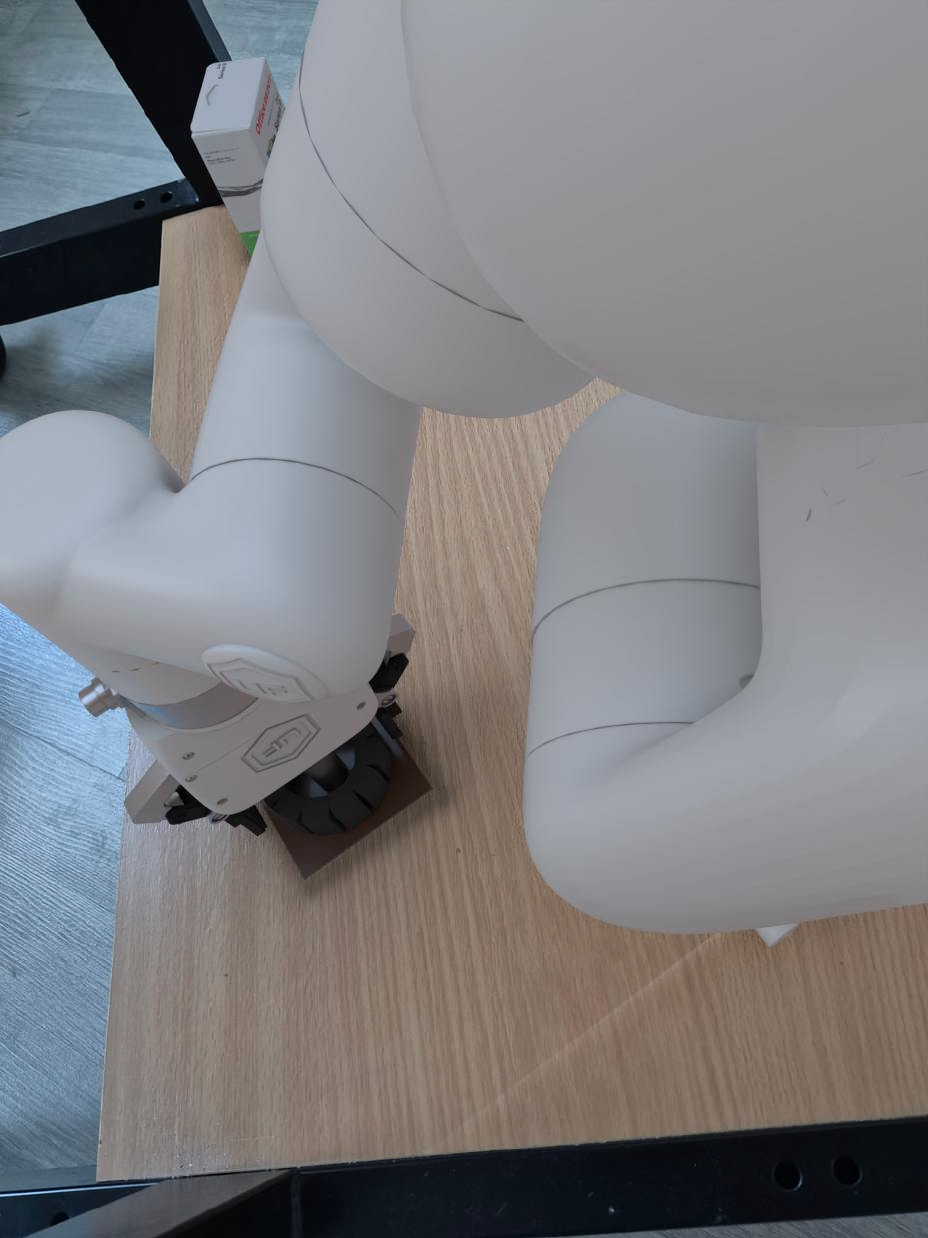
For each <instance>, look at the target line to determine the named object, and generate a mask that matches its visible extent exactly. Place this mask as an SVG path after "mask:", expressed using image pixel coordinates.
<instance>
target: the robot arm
mask: <svg viewBox="0 0 928 1238" xmlns="http://www.w3.org/2000/svg"><path fill="white" fill-rule="evenodd" d="M300 57H301V58H300V60H299V63H298V67H297V70H296V74H295V76H294V80H293V83H292V86H291V89H290V91H289V92H290V93H289V96H288V99H287V102H286V105H285V111H284V114H283V117H282V120H281V123H280V126H279V129H278V132H277V135H276V138H275V142H274V145H273V148H272V151H271V155H270V158H269V161H268V164H267V168H266V171H265V175H264V179H263V184H262V190H261V196H260V218H261V230H260V233H259V236H258V239H257V243H256V246H255V249H254V252H253V255H252V257H251V258H250V262H249V265H248V268H247V271H246V273H245V277H244V279H243V282H242V285H241V289H240V291H239V295H238V298H237V301H236V304H235V306H234V310H233V314H232V317H231V319H230V322H229V326H228V329H227V332H226V334H225V335H226V336H225V339H224V341H223V345H222V347H221V348H222V349H221V352H220V355H219V358H218V362H217V368H216V369H215V373H214V377H213V380H212V384H211V388H210V392H209V395H208V398H207V402H206V405H205V409H204V412H203V417H202V420H201V425H200V429H199V432H198V436H197V439H196V444H195V448H194V452H193V455H192V460H191V463H190V467H189V471H188V475H187V480H186V483H185V481H184V480H183V479H182V478H181V476H180V475H179V474H178V472H177V471H176V470H175V469H174V468H173V465H172V464H170V462H169V461H168V460H167V458H166V457H165V456H164V454H163V453H162V452H161V451H160V449H159V448H158V447H157V446H156V444H155V443H154V442H153V441H152V440H151V439H150V438H149V437H148V436H147V435H145V434H144V433H143V432H142V431H140V430H139V429H138V428H137V427H135V426H134V425H132V424H131V423H129V422H127V421H125V420H124V419H121V418H119V417H117V416H115V415H113V414H108V413H105V412H101V411H97V410H86V409H85V410H84V409H68V410H59V411H54V412H52V413H46V414H43V415H40V416H37V417H35V418H33V419H30V420H27V421H26V422H24V423H22V424H20V425H19V426H17V427H14V428H13V429H11V430H10V431H9V432H7V433H5V434H4V435H3V436H1V438H0V604H1V605H3V607H5V608H7V609H8V611H10V612H11V613H13V614H14V615H16V617H18V618H19V619H20V620H22V621H23V622H25V623H26V624H27V625H29V626H30V627H31V628H32V629H34V630H35V631H36V632H38V633H39V634H40V635H42V636H43V637H44V638H45V639H46V640H48V641H49V642H51V643H52V644H53V645H54V646H56V647H57V648H58V649H59V650H61V651H62V652H63V653H65V654H66V655H68V656H69V657H70V658H71V659H73V660H74V661H75V662H76V663H78V665H81V667H83V668H84V669H86V670H87V671H88V672H90V673H91V674H92V675H94V676H95V677H94V678H92V679H91V680H90V684H88V685H87V686H86V687H83V689H81V690H80V691H78V693H77V696H78V698H79V700H80V702H81V704H82V705H83V707H84V708H85V710H87V712H88V713H89V714H90V715H91V716H93V717H94V718H99V717H100V716H102V715H104V714H105V713H107V711H109V710H110V711H115V710H116V709H118V708H119V709H120V710H122V709H124V710H125V713H126V715H127V716H126V717H127V719H128V722H129V724H130V726H131V727H132V729H133V731H134V733H135V734H136V735H137V737H138V738H139V740H140V741H141V743H142V744H143V745H144V747H145V748H146V749H147V750H148V752H149V753H150V754H151V755H152V756H153V757H154V758H155V761H154V762H153V763H152V764H151V766H150V767H149V768H148V770H147V771H146V772H145V773H144V775H143V776H142V777H141V779H140V780H139V781H138V782H137V784H135V786H134V788H132V790H131V791H130V792H129V794H127V796H126V797H125V798H124V800H123V806H124V808H125V810H126V812H127V814H128V817H129V818H130V820H131V822H132V824H134V825H143V824H159V823H160V824H161V822H162V821H167V822H168V824H169V825H170V826H175V825H182V824H184V823H188V822H192V821H196V820H199V819H203V818H204V819H205V818H206V819H207V820H208V822H209V824H211V825H217V824H220V823H222V822H225V823H226V824H228V825H230V826H231V827H232V828H233V829H236V828H237V827H239V826H240V825H241V826H242V827H243V828H245V829H246V830H248V831H249V832H251V834H254V835H255V836H257V837H259V836H261V835H262V834H264V833H265V832H266V829H267V828H268V825H267V823H266V821H265V820H264V818H263V816H262V814H261V812H260V811H259V808H258V807H257V805H256V804H257V803H260V802H259V801H261V800H262V799H264V798H265V797H267V796H268V795H270V794H271V793H273V792H274V791H276V790H277V789H278V788H280V787H281V786H283V785H284V784H286V783H287V782H289V781H290V780H292V779H293V778H295V777H296V776H298V775H299V774H300V773H302V772H303V771H305V770H306V769H308V768H309V767H311V766H312V765H313V764H315V763H316V762H318V761H319V760H321V759H322V758H323V757H325V756H326V755H328V754H329V753H330V752H332V751H333V750H335V749H336V748H338V747H339V746H340V745H342V744H343V743H345V742H346V741H347V740H349V739H350V738H351V737H353V736H354V735H356V734H357V733H358V732H359V731H361V730H362V729H363V728H364V727H365V726H366V725H367V724H368V723H369V722H370V721H371V720H372V718H373V717H374V716H375V717H376V718H377V720H378V721H379V722H380V724H381V725H382V727H383V728H384V729H385V731H386V732H387V733H388V735H389V736H390V737H391V739H392V740H393V739H394V738H396V740H397V739H398V738H399V739H400V738H401V737H403V736H404V733H403V732H402V730H401V728H400V727H399V725H398V724H397V723H396V721H395V720H394V718H396V717H397V716H399V715H400V714H402V713H403V710H402V709H401V707H400V706H399V704H398V703H397V700H398V698H399V694H398V692H397V691H396V689H395V687H396V685H397V684H398V682H399V680H400V679H401V677H402V676H403V674H404V672H405V670H406V669H407V668H408V666H409V663H410V660H409V658H408V657H407V654H408V653H409V652H410V651H411V648H412V644H413V641H414V638H415V636H416V635H415V634H416V631H415V629H414V628H413V627H412V625H411V624H410V623H409V621H408V619H407V618H406V617H405V615H404V614H403V613H397V614H394V615H393V612H394V604H395V599H396V591H397V586H398V585H397V584H398V578H399V571H400V565H401V559H402V558H401V557H402V552H403V551H402V550H403V544H404V531H405V525H406V517H407V510H408V503H409V495H410V487H411V480H412V474H413V466H414V462H415V461H414V460H415V454H416V448H417V441H418V436H419V430H420V423H421V418H422V413H423V408H425V409H429V410H432V411H433V410H434V411H436V412H439V413H443V414H447V415H453V416H460V417H465V418H475V419H487V420H490V419H491V420H492V419H493V420H494V419H510V418H514V417H521V416H524V415H530V414H532V413H535V412H539V411H542V410H544V409H548V408H551V407H553V406H556V405H559V404H560V403H562V402H565V401H566V400H568V399H570V398H572V397H574V396H575V395H576V394H578V393H579V392H580V391H582V390H583V389H584V388H586V387H587V386H588V385H589V384H590V383H591V382H592V381H593V380H595V379H596V378H597V379H598V380H601V381H603V382H604V383H606V384H609V385H610V386H611V385H612V386H613V387H616V388H619V389H621V390H623V392H621V393H619V394H617V395H615V396H613V397H612V398H610V399H608V400H607V401H605V402H604V403H602V404H601V405H599V406H598V407H597V408H596V409H595V410H593V411H592V412H591V413H590V414H589V415H588V416H587V417H586V418H585V419H584V420H583V421H582V422H581V423H580V424H579V426H577V428H576V429H575V430H574V431H573V433H571V436H569V438H568V439H567V441H566V442H565V444H564V445H563V446H562V449H561V450H560V453H559V454H558V457H557V459H556V460H555V463H554V466H553V468H552V471H551V473H550V475H549V478H548V482H547V486H546V490H545V493H544V498H543V504H542V509H541V515H540V524H539V531H538V542H537V555H536V567H535V580H534V581H535V582H534V593H533V594H534V595H533V608H532V609H533V610H532V622H531V633H530V634H531V635H530V642H531V650H532V651H531V653H532V654H531V663H530V664H531V665H530V666H531V667H530V681H529V695H528V707H527V720H526V721H527V722H526V724H527V725H526V734H525V735H526V736H525V748H524V749H525V750H524V765H523V784H522V785H523V786H522V819H523V821H522V822H523V828H524V829H523V830H524V836H525V840H526V841H525V842H526V845H527V849H528V851H529V855H530V857H531V859H532V862H533V864H534V866H535V868H536V870H537V871H538V873H539V874H540V875H541V877H542V878H543V880H544V881H545V883H546V884H547V885H548V887H549V888H550V889H551V890H552V891H553V892H554V893H555V894H557V896H559V897H560V898H561V899H562V900H563V901H564V902H566V903H567V904H569V905H570V906H572V907H573V908H574V909H576V910H578V911H579V912H581V913H583V914H585V915H587V916H589V917H591V918H593V919H596V920H597V921H601V922H604V923H607V924H609V925H613V926H616V927H619V928H623V929H627V930H632V931H638V932H646V933H655V934H663V935H709V934H725V933H730V932H731V933H733V932H740V931H741V932H742V931H748V930H754V931H755V932H756V933H757V935H758V936H759V937H760V938H761V940H762V941H763V942H764V943H765V944H766V946H767V947H768V948H769V949H772V948H773V947H774V946H776V945H778V944H779V943H780V942H782V941H783V940H784V939H786V938H788V937H789V936H790V935H791V934H792V933H793V932H795V930H796V929H798V928H799V927H800V925H801V924H800V923H805V922H811V921H818V920H819V921H820V920H824V919H831V918H836V917H837V918H838V917H844V916H851V915H857V914H863V913H870V912H878V911H882V910H883V911H884V910H890V909H896V908H897V909H898V908H903V907H910V906H916V905H923V904H928V0H318V2H317V5H316V9H315V11H314V15H313V19H312V22H311V25H310V29H309V31H308V35H307V39H306V42H305V45H304V48H303V51H302V54H301V56H300Z"/></svg>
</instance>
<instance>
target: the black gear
mask: <svg viewBox="0 0 928 1238" xmlns="http://www.w3.org/2000/svg"><path fill="white" fill-rule="evenodd" d="M349 740H351V741H353V742H354V746H355V764H354V766H353V768H352V769H351V771H350V773H349V775H348V777H347V779H346V781H345V783H343V784H342V785H341V786H339V787H338V788H336V789H335V790H334V791H332V792H331V793H329V794H328V795H326V796H320V797H312V798H303V797H301V796H299V795H298V793H297V792H296V790H295V788H294V781H295V778H293V779H292V780H290V781H289V782H287V783H286V784H284V785H283V786H281V787H280V788H278V789H277V790H276V791H274V792H273V793H271V794H270V795H268V796H267V797H265V798H264V801H265V803H266V805H267V806H268V807H269V808H271V809H272V810H273V812H275V813H276V814H277V815H278V816H280V817H281V818H282V819H284V820H285V821H286V822H288V823H289V824H290V825H292V826H294V827H296V828H298V829H300V830H303V831H305V832H307V833H309V834H311V835H312V834H313V833H316V834H317V835H318V836H324V835H332V834H341V833H344V832H345V826H346V827H347V828H348V829H350V830H352V829H354V828H355V827H356V826H358V825H359V824H361V823H362V822H363V821H365V820H366V819H368V818H369V817H371V816H372V815H373V813H372V812H371V810H370V808H369V807H368V805H369V806H371V807H373V808H375V809H378V808H379V806H380V804H381V802H382V800H383V798H384V796H385V794H386V792H387V790H388V788H389V786H390V785H389V784H388V783H387V782H386V780H387V779H391V778H392V775H391V754H390V752H389V751H388V750H387V749H388V748H389V747H388V745H387V744H386V742H385V741H384V739H383V738H382V736H381V735H380V733H379V732H378V730H377V729H376V727H375V726H374V725H373V724H372V722H371V721H370V722H369V723H368V724H367V725H366V726H365V727H364V728H363V729H362V730H361V731H359V732H358V733H357V734H356V735H354V736H353V737H351V738H350V739H349Z"/></svg>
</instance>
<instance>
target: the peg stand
mask: <svg viewBox="0 0 928 1238" xmlns="http://www.w3.org/2000/svg"><path fill="white" fill-rule="evenodd" d="M371 722H372V724H373V725H374V726H375V727H376V729H377V730H378V732H379V733H380V735H381V736H382V738H383V739H384V741H385V742H386V744H387V745H388V747H389V748H388V749H387V750H388V751H389V752H390V754H391V775H392V778H391V779H387V780H386V782H387V783H388V784H389V785H390V786H389V788H388V790H387V792H386V794H385V796H384V798H383V800H382V802H381V804H380V806H379V808H378V809H375V808H373V807H371V806H369V805H368V807H369V808H370V810H371V812H372V813H373V815H372V816H371V817H369V818H368V819H366V820H365V821H363V822H362V823H361V824H359V825H358V826H356V827H355V828H354V829H352V830H350V829H348V828H347V827H346V826H345V832H344V833H341V834H332V835H324V836H318V835H317V834H316V833H313V834H312V835H311V834H309V833H307V832H305V831H303V830H300V829H298V828H296V827H294V826H292V825H290V824H289V823H288V822H286V821H285V820H284V819H282V818H281V817H280V816H278V815H277V814H276V813H275V812H273V810H272V809H271V808H269V807H268V806H267V805H266V803H265V801H264V799H262V800H261V801H259V802H258V803H259V804H260V806H261V807H262V808H263V811H264V812H265V814H266V815H267V818H268V819H269V821H270V823H271V824H272V826H273V828H274V829H275V832H276V833H277V835H278V837H279V838H280V840H281V842H282V843H283V846H284V848H285V849H286V850H287V852H288V854H289V856H290V858H291V859H292V861H293V863H294V865H295V866H296V868H297V870H298V872H299V873H300V875H301V876H302V879H303V880H306V879H309V878H310V877H311V876H313V875H314V874H315V873H317V872H318V871H319V870H321V869H322V868H323V867H326V866H327V865H328V864H329V863H331V862H332V861H334V860H335V859H336V858H338V857H339V856H341V855H343V854H344V853H345V852H347V851H348V850H349V849H350V848H352V847H353V846H355V845H356V844H357V843H359V842H361V841H362V840H363V839H364V838H366V837H367V836H369V835H370V834H371V833H373V832H374V831H376V830H377V829H379V828H380V827H381V826H383V825H385V823H387V822H388V821H390V820H391V819H393V818H394V817H396V816H397V815H398V814H399V813H401V812H403V811H404V810H405V809H406V808H408V807H409V806H411V805H413V804H414V803H415V802H417V801H418V800H419V799H421V798H422V797H424V796H425V795H426V794H428V793H430V792H431V791H432V790H433V789H434V788H433V786H432V785H431V783H430V782H429V780H428V779H427V777H426V775H425V774H424V773H423V770H421V768H420V767H419V766H418V764H417V762H416V760H414V758H413V757H412V755H411V754H410V752H409V751H408V749H407V748H406V747H405V745H404V743H403V742H402V740H401V739H400V738H398V739H397V740H396V738H394V739H393V740H392V739H391V737H390V736H389V735H388V733H387V732H386V731H385V729H384V728H383V727H382V725H381V724H380V722H379V721H378V720H377V718H376V717H375V716H374V717H373V718H372V720H371ZM354 764H355V746H354V742H353V741H351V740H347V741H346V742H345V743H343V744H342V745H340V746H339V747H338V748H336V749H335V750H333V751H332V752H330V753H329V754H328V755H326V756H325V757H323V758H322V759H321V760H319V761H318V762H316V763H315V764H313V765H312V766H311V767H309V768H308V769H306V770H305V771H303V772H302V773H300V774H299V775H298V776H296V777H295V781H294V788H295V790H296V792H297V793H298V795H299V796H301V797H303V798H312V797H320V796H326V795H328V794H329V793H331V792H332V791H334V790H335V789H336V788H338V787H339V786H341V785H342V784H343V783H345V781H346V779H347V777H348V775H349V773H350V771H351V769H352V768H353V766H354Z"/></svg>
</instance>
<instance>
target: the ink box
mask: <svg viewBox="0 0 928 1238" xmlns="http://www.w3.org/2000/svg"><path fill="white" fill-rule="evenodd" d="M285 108H286V106H285V104H284V101H283V99H282V97H281V93H280V92H279V89H278V86H277V84H276V81H275V78H274V76H273V73H272V70H271V68H270V65H269V63H268V60H267V57H266V56H259V57H251V58H244V59H243V58H242V59H237V60H227V61H221V62H213V63H211V64H209V65H208V66H207V67H206V69H205V74H204V77H203V81H202V86H201V88H200V92H199V95H198V98H197V102H196V106H195V109H194V112H193V117H192V120H191V123H190V131H191V139H192V141H193V142H194V144H195V146H196V149H197V151H198V153H199V155H200V156H201V157H200V158H201V159H202V161H203V163H204V165H205V167H206V169H207V171H208V173H209V175H210V177H211V179H212V181H213V183H214V185H215V187H216V189H217V191H218V193H219V195H220V197H221V199H222V201H223V204H224V205H225V207H226V209H227V212H228V214H229V216H230V218H231V221H233V224H234V226H235V228H236V230H237V232H238V234H239V235H240V238H241V239H242V242H243V244H244V245H245V248H246V250H247V252H248V254H249V256H250V257H251V258H252V255H253V252H254V249H255V246H256V243H257V239H258V236H259V233H260V230H261V218H260V196H261V190H262V184H263V179H264V175H265V171H266V168H267V164H268V161H269V158H270V155H271V151H272V148H273V145H274V142H275V138H276V135H277V132H278V129H279V126H280V123H281V120H282V117H283V114H284V111H285Z"/></svg>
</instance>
